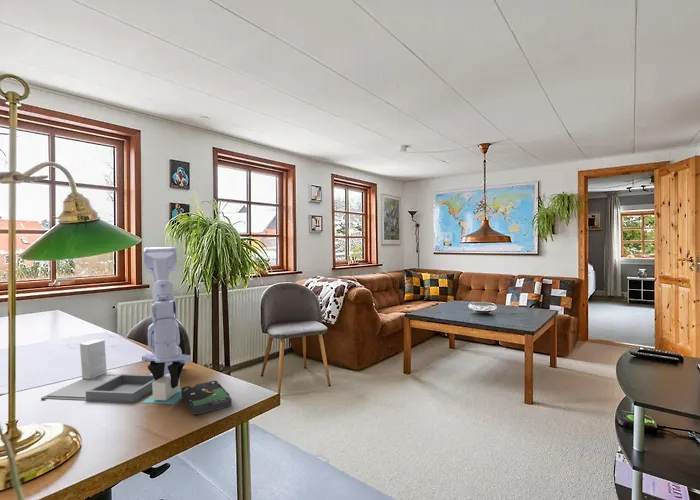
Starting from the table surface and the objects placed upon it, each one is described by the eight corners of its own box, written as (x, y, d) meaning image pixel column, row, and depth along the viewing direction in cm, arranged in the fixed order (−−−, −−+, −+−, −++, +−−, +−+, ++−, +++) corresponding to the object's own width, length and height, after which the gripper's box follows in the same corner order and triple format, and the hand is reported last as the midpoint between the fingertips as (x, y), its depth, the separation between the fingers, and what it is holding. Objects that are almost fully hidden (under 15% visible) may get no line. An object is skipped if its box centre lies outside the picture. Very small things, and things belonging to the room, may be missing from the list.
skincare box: (98, 372, 135) (96, 339, 134) (107, 373, 133) (105, 339, 133) (81, 378, 129) (79, 343, 129) (90, 379, 128) (88, 344, 127)
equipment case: (80, 381, 126) (80, 372, 126) (163, 384, 122) (163, 375, 122) (41, 399, 113) (40, 389, 112) (133, 403, 108) (132, 393, 108)
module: (168, 389, 115) (167, 373, 115) (180, 390, 115) (179, 374, 115) (152, 399, 108) (152, 382, 108) (165, 400, 108) (165, 383, 108)
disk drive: (180, 397, 111) (193, 416, 99) (180, 387, 111) (193, 405, 99) (216, 388, 117) (232, 405, 105) (216, 379, 117) (232, 395, 105)
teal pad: (163, 389, 118) (163, 388, 118) (193, 390, 116) (193, 389, 116) (141, 404, 108) (141, 402, 108) (173, 405, 107) (173, 403, 107)
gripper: (133, 344, 109) (135, 391, 109) (180, 345, 107) (182, 393, 107) (149, 337, 116) (151, 381, 116) (194, 338, 113) (196, 383, 114)
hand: (167, 386), depth 112 cm, fingers closed on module, 4 cm apart
